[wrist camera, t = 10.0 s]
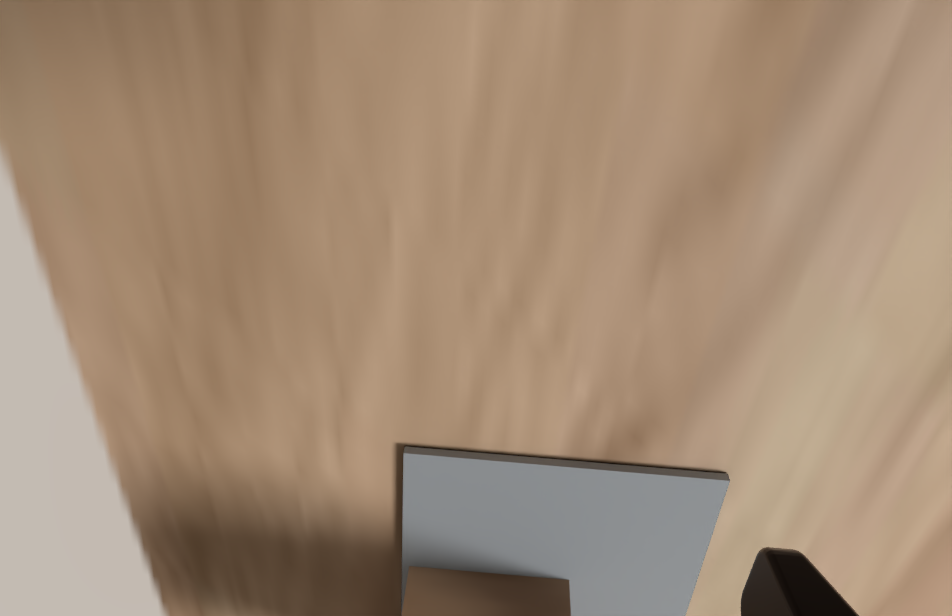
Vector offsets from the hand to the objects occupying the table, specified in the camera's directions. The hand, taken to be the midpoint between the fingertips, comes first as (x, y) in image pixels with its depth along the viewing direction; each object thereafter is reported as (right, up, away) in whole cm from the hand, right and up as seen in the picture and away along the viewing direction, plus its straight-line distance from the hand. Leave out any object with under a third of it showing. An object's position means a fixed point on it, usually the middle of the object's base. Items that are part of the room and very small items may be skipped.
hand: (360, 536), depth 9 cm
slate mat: (+4, -7, +19) cm, 20 cm away
